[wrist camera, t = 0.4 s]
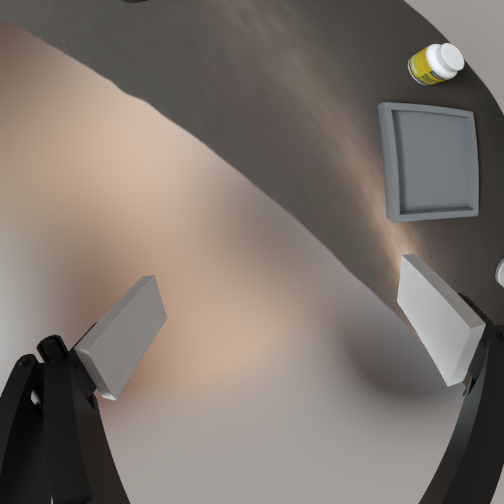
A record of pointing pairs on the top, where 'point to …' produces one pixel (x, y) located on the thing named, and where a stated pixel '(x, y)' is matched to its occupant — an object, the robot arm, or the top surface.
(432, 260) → the top surface
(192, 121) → the top surface
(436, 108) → the tray
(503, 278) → the travel mug
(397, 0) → the top surface
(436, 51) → the supplement bottle
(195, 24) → the top surface
